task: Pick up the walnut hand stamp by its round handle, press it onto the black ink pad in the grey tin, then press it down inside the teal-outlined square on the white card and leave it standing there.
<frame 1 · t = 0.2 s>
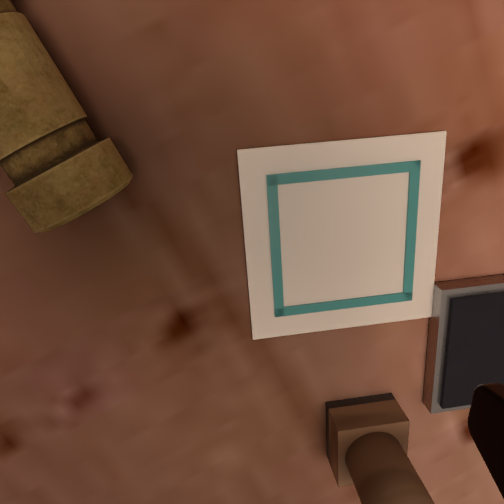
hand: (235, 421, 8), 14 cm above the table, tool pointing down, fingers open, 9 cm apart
ink pad: (492, 337, 26), on the table
stamp: (358, 424, 27), on the table
print card: (342, 240, 22), on the table
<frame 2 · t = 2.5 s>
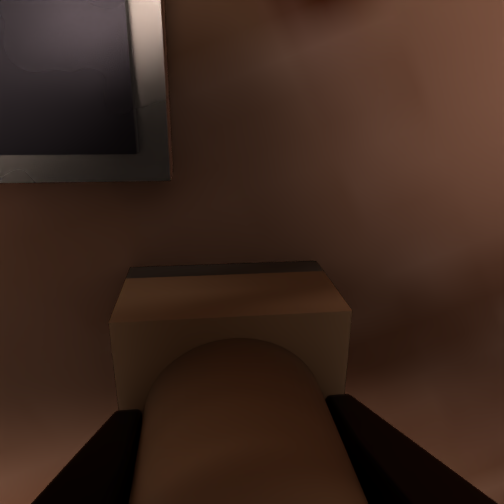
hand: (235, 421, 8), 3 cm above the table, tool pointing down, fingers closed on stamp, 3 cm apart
stamp: (226, 344, 10), on the table, touching gripper
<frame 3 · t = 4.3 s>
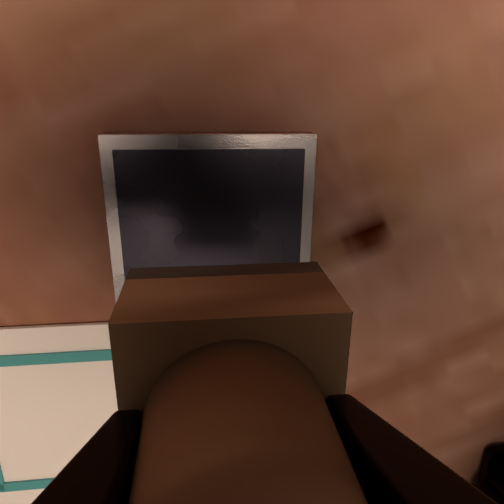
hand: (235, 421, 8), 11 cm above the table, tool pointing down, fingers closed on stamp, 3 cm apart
ink pad: (212, 231, 18), on the table
stamp: (226, 346, 10), point 9 cm above the table, touching gripper
print card: (66, 419, 21), on the table
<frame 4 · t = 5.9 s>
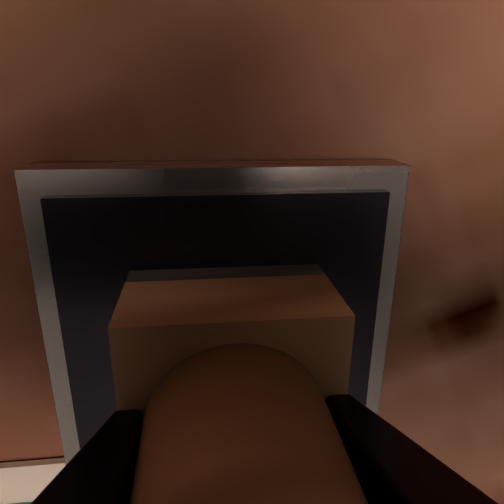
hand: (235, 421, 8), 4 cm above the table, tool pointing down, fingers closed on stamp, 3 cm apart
ink pad: (222, 319, 11), on the table
stamp: (227, 348, 10), point 1 cm above the table, touching gripper, ink pad
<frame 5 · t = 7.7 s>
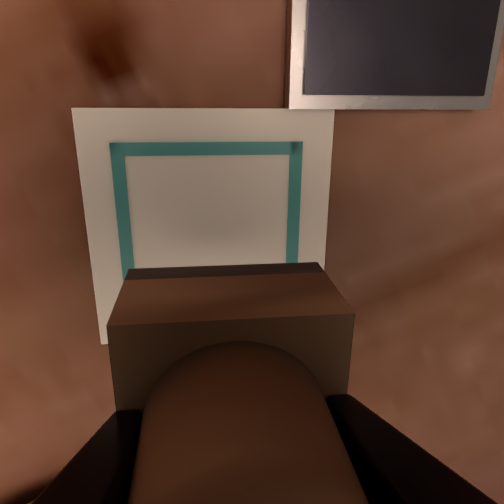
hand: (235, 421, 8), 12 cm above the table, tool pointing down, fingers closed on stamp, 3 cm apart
stamp: (226, 347, 10), point 9 cm above the table, touching gripper
print card: (210, 232, 19), on the table
when the fingers open (3 cm above the table, at t = 9.4 s): stamp stays where it is, resting on print card.
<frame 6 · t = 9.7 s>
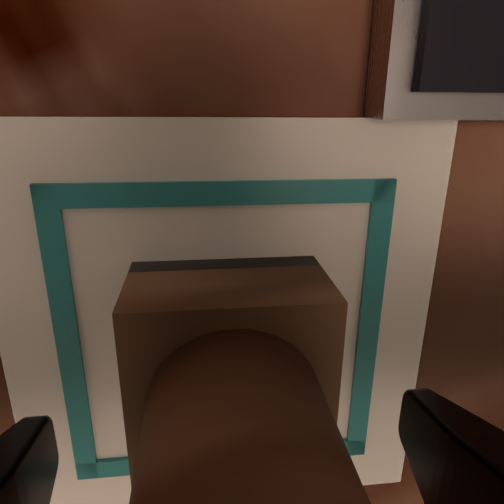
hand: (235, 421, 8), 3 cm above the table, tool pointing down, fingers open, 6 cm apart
stamp: (226, 338, 10), resting on print card
print card: (223, 334, 11), on the table
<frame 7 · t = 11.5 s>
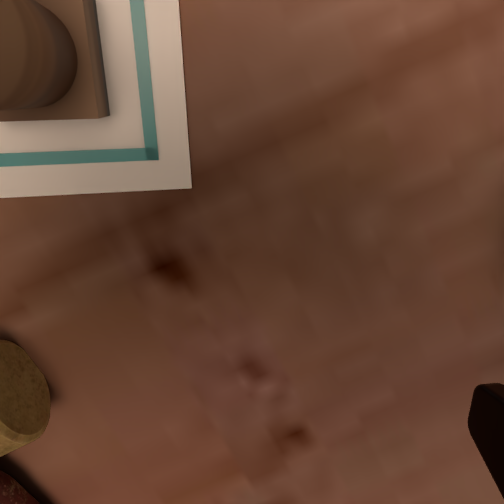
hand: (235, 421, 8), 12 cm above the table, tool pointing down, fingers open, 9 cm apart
stamp: (47, 60, 16), resting on print card
print card: (47, 61, 16), on the table
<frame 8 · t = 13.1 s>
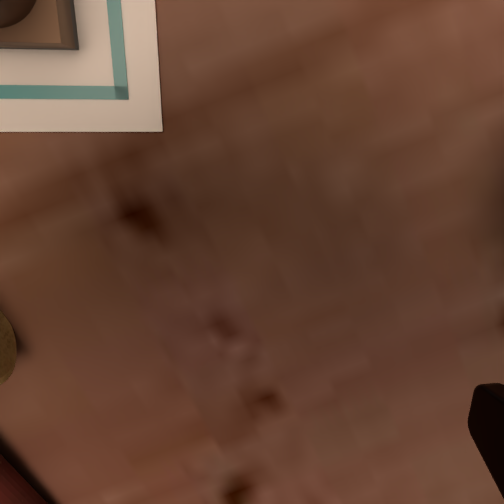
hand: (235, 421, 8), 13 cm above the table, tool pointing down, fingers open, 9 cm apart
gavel: (11, 464, 24), on the table
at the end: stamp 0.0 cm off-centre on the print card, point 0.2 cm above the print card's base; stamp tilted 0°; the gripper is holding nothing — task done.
